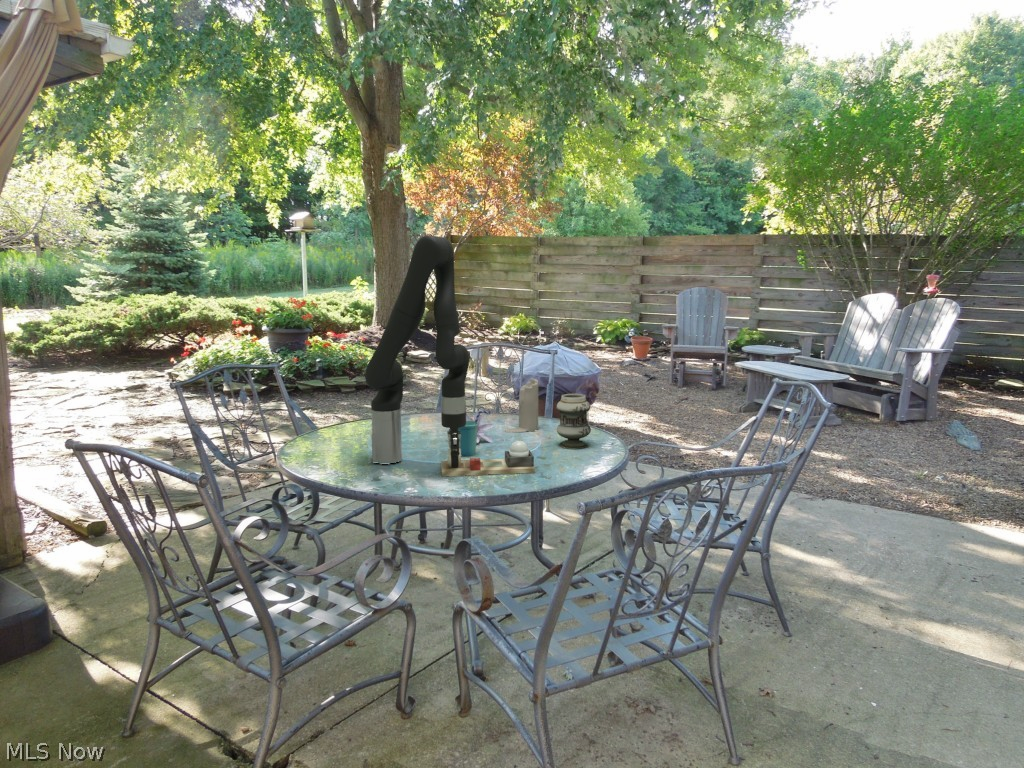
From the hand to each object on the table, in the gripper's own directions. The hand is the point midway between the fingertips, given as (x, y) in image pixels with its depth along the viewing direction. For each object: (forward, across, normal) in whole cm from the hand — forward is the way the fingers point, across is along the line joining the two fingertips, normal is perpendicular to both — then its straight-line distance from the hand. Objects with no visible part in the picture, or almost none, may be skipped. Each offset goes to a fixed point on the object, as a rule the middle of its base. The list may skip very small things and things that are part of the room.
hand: (454, 465), depth 204 cm
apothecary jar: (+2, +25, -43) cm, 50 cm away
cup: (+2, +18, -6) cm, 19 cm away
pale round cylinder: (-1, 0, -20) cm, 20 cm away
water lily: (+2, +35, -9) cm, 36 cm away
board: (+2, 0, -10) cm, 10 cm away
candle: (+2, +51, -28) cm, 58 cm away
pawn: (0, 0, 0) cm, 0 cm away
